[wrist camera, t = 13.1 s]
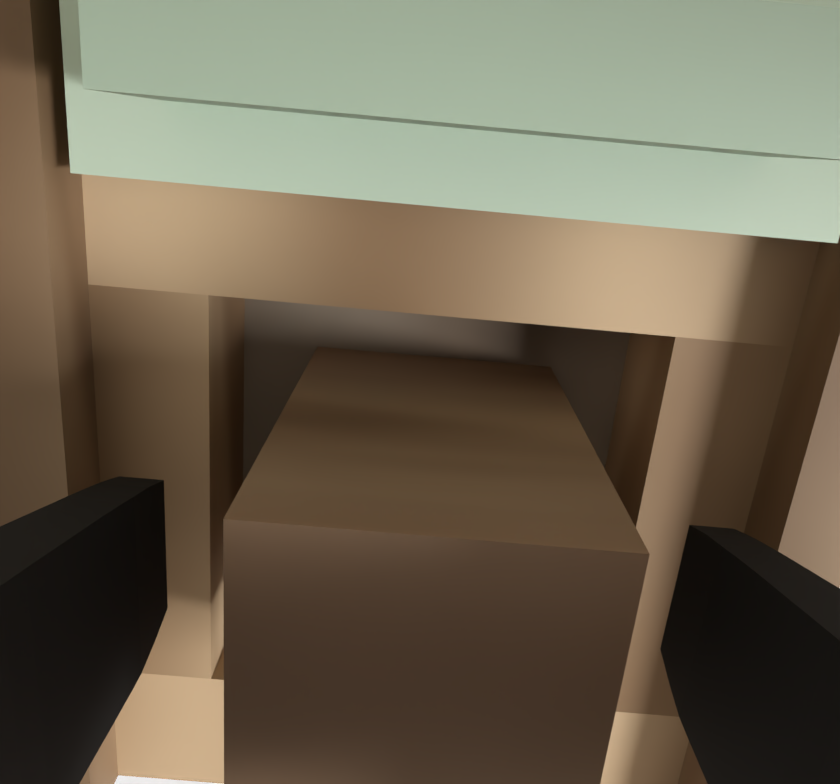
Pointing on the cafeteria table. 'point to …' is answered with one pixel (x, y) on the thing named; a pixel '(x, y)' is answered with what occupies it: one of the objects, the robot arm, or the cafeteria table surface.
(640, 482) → the tan wooden frame
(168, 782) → the cafeteria table surface
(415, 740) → the block
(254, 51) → the cover
